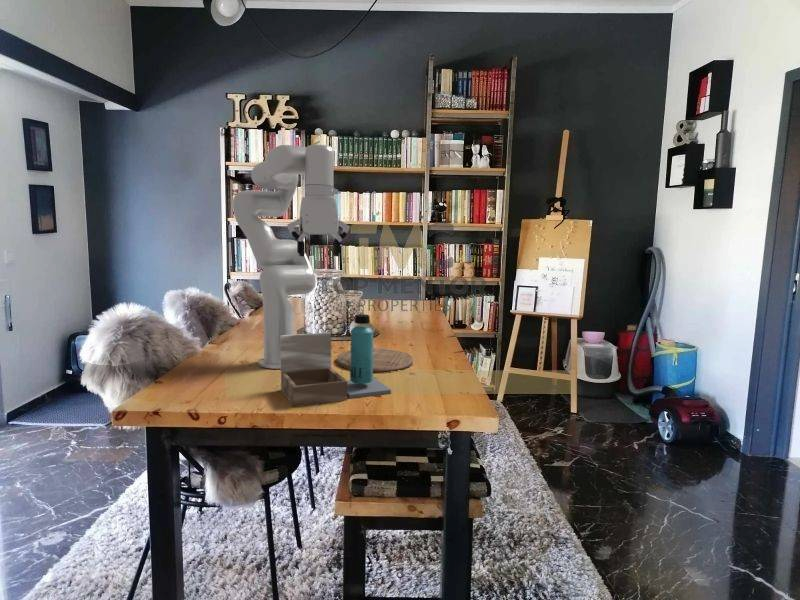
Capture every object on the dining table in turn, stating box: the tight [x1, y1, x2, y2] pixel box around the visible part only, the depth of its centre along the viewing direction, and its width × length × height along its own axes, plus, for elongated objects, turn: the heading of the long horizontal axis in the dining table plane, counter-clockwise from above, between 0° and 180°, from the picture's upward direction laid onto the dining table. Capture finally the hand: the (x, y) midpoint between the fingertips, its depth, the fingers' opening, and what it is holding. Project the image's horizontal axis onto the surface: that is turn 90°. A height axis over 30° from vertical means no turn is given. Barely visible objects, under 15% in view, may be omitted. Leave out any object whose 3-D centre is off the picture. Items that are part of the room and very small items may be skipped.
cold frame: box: [280, 331, 348, 407], centre depth 139 cm, size 15×14×15 cm
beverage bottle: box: [349, 313, 374, 384], centre depth 144 cm, size 6×7×20 cm
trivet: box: [336, 348, 414, 374], centre depth 174 cm, size 25×25×2 cm
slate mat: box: [346, 377, 392, 399], centre depth 146 cm, size 12×12×1 cm
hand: (319, 256), depth 144 cm, fingers open, 9 cm apart
